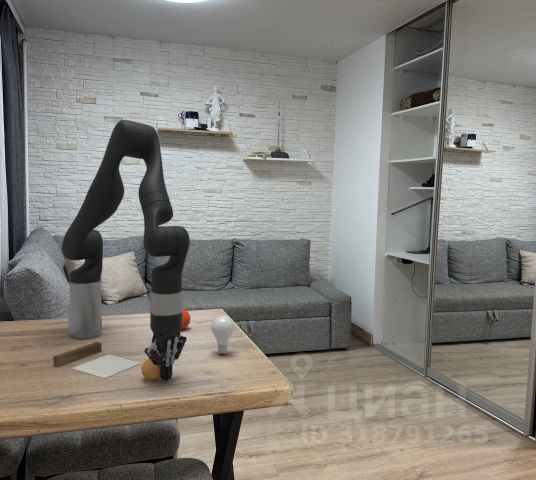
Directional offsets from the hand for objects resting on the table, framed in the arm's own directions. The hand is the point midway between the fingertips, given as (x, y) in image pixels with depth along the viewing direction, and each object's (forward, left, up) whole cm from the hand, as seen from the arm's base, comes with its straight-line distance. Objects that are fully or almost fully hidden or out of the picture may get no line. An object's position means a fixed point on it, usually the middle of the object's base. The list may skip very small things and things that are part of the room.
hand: (166, 379), depth 115 cm
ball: (-4, 0, +2) cm, 4 cm away
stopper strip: (-31, 0, -1) cm, 31 cm away
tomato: (-26, +36, -1) cm, 44 cm away
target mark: (-20, 0, -1) cm, 20 cm away
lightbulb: (0, +24, -1) cm, 24 cm away
